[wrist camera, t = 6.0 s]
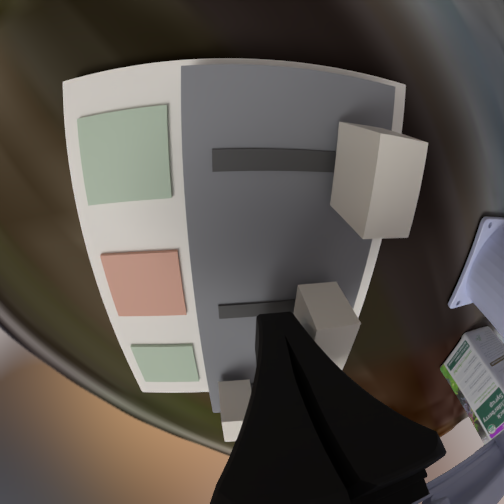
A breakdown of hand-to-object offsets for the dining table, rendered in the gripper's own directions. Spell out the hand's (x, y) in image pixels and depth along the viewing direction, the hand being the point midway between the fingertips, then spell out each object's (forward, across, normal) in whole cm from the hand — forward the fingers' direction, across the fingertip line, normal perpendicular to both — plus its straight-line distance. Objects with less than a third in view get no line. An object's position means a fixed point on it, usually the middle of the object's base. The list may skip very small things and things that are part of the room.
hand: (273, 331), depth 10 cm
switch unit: (+4, +1, 0) cm, 4 cm away
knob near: (+1, -3, -6) cm, 7 cm away
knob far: (+1, +2, +6) cm, 6 cm away
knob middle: (+1, -2, 0) cm, 2 cm away
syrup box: (+5, -25, +13) cm, 28 cm away
